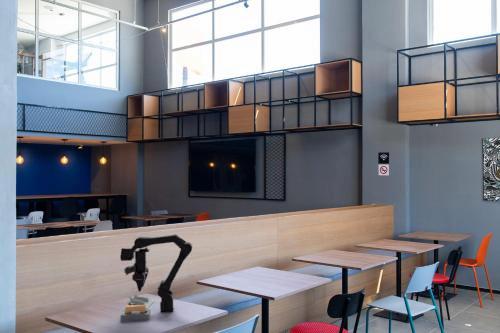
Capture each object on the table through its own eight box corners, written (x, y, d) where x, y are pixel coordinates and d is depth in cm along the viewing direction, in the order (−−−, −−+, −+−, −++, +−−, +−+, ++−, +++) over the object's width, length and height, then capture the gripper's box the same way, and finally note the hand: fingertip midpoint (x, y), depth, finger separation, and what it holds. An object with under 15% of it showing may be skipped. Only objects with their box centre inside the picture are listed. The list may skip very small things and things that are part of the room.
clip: (146, 317, 248) (145, 304, 248) (145, 318, 245) (145, 306, 245) (126, 318, 247) (126, 305, 247) (125, 319, 244) (125, 306, 244)
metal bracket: (125, 298, 264) (134, 292, 279) (122, 309, 264) (131, 301, 279) (149, 306, 263) (157, 299, 278) (147, 316, 263) (154, 308, 278)
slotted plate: (150, 315, 251) (150, 309, 251) (148, 320, 243) (148, 314, 243) (123, 316, 249) (123, 310, 249) (120, 321, 241) (120, 315, 241)
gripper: (128, 257, 267) (128, 285, 267) (122, 264, 248) (122, 294, 248) (148, 257, 268) (148, 285, 268) (143, 263, 249) (144, 293, 249)
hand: (140, 289), depth 258 cm, fingers open, 9 cm apart
